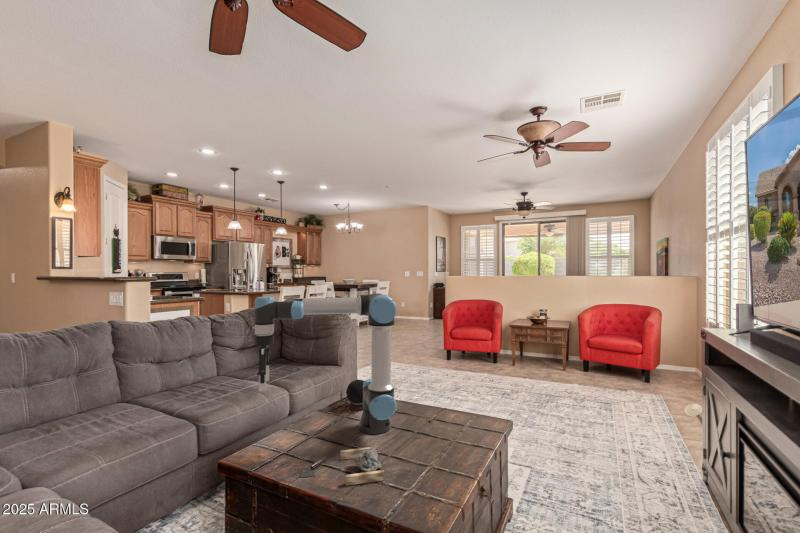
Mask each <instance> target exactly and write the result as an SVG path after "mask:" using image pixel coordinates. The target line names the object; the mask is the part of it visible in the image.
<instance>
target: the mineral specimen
mask: <svg viewBox="0 0 800 533" xmlns="http://www.w3.org/2000/svg"><path fill="white" fill-rule="evenodd" d="M371 447H372V448H369V449H362V451H361V452H359V453H357V454H355V455H354V458H352V460H353V461H354V462H355V465H356V466H357V467H358V468H359V469H360V470H361V472H371V471H377V470H378V471H379V470H382V463H381V462H380V461H379V454H378V448H377V447H376V446H371Z"/></svg>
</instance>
